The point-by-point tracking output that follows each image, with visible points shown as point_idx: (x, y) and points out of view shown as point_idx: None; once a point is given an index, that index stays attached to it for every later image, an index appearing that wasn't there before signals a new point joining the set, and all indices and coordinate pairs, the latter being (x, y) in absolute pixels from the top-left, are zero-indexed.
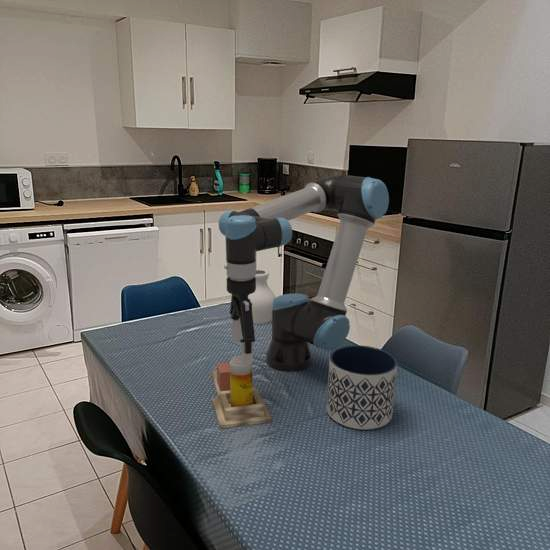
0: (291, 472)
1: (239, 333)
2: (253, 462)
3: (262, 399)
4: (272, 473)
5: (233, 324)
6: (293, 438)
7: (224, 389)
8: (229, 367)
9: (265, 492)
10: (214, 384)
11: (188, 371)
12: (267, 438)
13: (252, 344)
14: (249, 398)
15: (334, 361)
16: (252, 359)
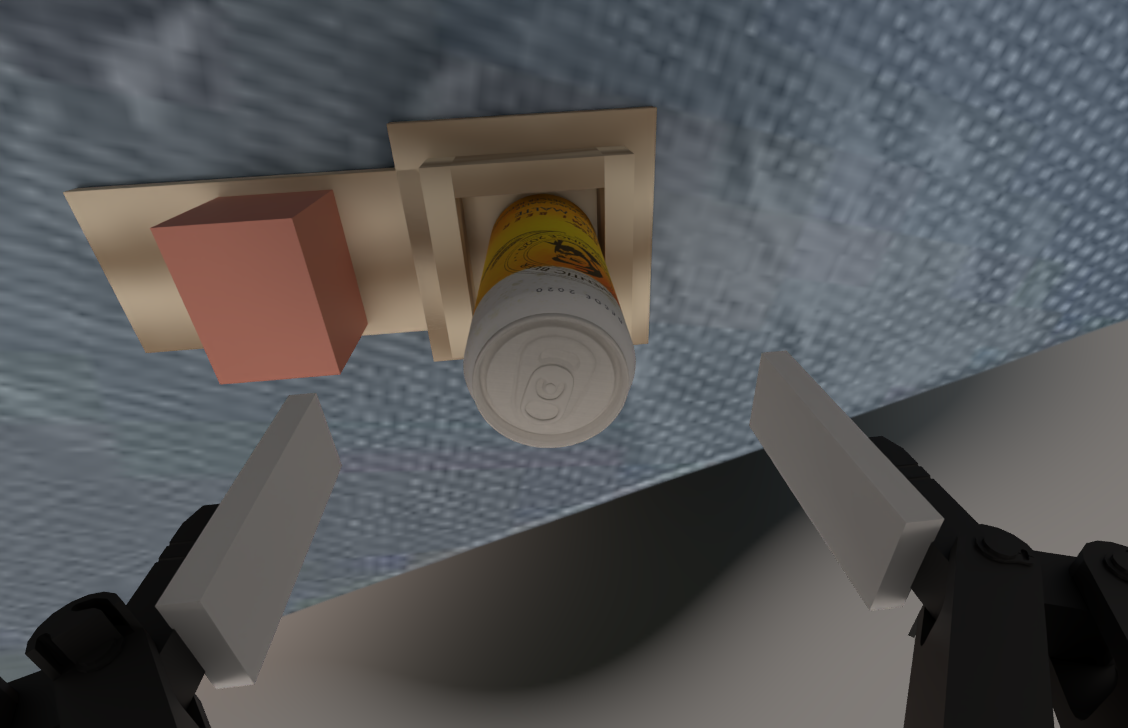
0: (1016, 100)
1: (291, 475)
2: (886, 240)
3: (460, 119)
4: (978, 181)
5: (269, 626)
6: (816, 20)
7: (361, 307)
8: (263, 320)
9: (1046, 225)
10: None
11: (153, 434)
12: (768, 155)
13: (904, 480)
14: (594, 236)
15: None
16: (804, 374)
